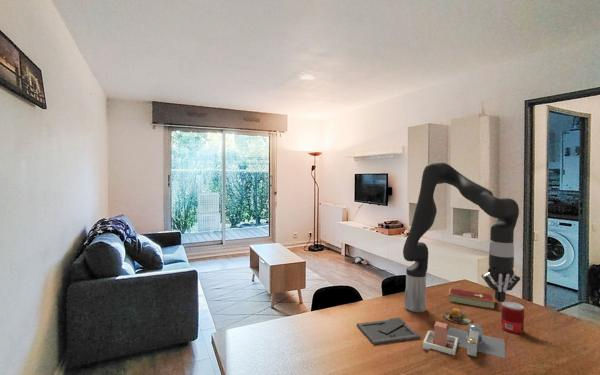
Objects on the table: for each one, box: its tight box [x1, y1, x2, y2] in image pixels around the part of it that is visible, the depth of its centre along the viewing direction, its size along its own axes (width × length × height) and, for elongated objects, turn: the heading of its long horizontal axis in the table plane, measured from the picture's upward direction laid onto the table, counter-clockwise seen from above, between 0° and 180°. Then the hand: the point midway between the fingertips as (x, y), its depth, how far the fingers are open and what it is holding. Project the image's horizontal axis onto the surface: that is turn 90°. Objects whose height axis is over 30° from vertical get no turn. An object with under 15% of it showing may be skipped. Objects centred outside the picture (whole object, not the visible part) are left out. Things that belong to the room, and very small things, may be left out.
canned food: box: [500, 301, 525, 335], centre depth 134 cm, size 8×8×11 cm
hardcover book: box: [448, 287, 496, 309], centre depth 166 cm, size 12×21×4 cm, turn 62°
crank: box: [466, 322, 483, 358], centre depth 119 cm, size 17×5×6 cm, turn 147°
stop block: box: [433, 320, 448, 347], centre depth 121 cm, size 4×4×8 cm
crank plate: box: [447, 326, 506, 359], centre depth 123 cm, size 20×15×1 cm
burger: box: [442, 307, 473, 325], centre depth 143 cm, size 12×12×8 cm
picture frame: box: [356, 317, 422, 346], centre depth 132 cm, size 16×2×21 cm
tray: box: [422, 330, 458, 356], centre depth 121 cm, size 11×11×3 cm
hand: (500, 301), depth 113 cm, fingers closed
